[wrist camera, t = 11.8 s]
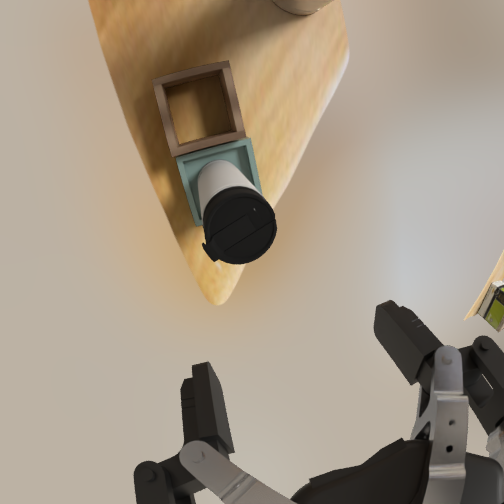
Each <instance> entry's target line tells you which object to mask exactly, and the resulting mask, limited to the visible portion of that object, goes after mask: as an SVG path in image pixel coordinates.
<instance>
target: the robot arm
mask: <svg viewBox="0 0 504 504" xmlns="http://www.w3.org/2000/svg"><path fill="white" fill-rule="evenodd" d="M273 1H274V3H275V4H276V5H278V6H279V7H280V8H282V9H283V10H285V11H287V12H290V13H293V14H297V15H309V14H313V13H315V12H317V11H318V10H320V9H321V8H323V7H324V6H326V5H327V4H329V3H330V2H332V1H334V0H273ZM374 333H375V336H376V338H377V339H378V341H379V342H380V343H381V345H382V346H383V347H384V349H385V350H386V351H387V353H388V354H389V355H390V357H391V358H392V359H393V361H394V362H395V364H396V365H397V367H398V368H399V369H400V371H401V372H402V374H403V375H404V376H405V378H406V379H407V381H408V382H409V383H410V385H413V384H415V383H416V382H419V383H420V389H419V399H418V408H417V416H416V422H415V425H414V427H413V430H412V433H411V438H410V440H407V441H404V440H403V438H401V439H399V440H397V441H395V442H393V443H391V444H389V445H388V446H386V447H384V448H382V449H380V450H379V451H378V452H377V453H376V454H375V455H373V456H372V457H371V458H369V459H368V460H367V461H366V462H364V463H363V464H361V465H359V466H354V467H349V468H344V469H338V470H333V471H330V472H327V473H325V474H322V475H319V476H316V477H314V478H311V479H309V480H310V482H309V483H308V484H306V485H305V486H303V487H302V488H300V489H299V490H298V491H297V492H296V493H295V494H294V495H293V496H292V498H291V499H288V498H286V497H285V496H283V495H281V494H279V493H278V492H276V491H274V490H273V489H271V488H270V487H268V486H266V485H265V484H263V483H262V482H260V481H259V480H257V479H256V478H254V477H253V476H251V475H249V474H247V473H246V472H244V471H243V470H242V469H240V468H239V467H237V466H236V465H235V464H233V463H232V462H231V461H230V459H229V455H228V454H230V453H234V452H235V451H234V447H233V442H232V437H231V433H230V428H229V423H228V418H227V413H226V408H225V402H224V397H223V392H222V388H221V384H220V382H219V379H218V378H217V376H216V374H215V372H214V370H213V368H212V367H211V364H210V363H209V362H204V363H200V364H196V365H192V375H193V377H192V378H187V379H184V381H183V384H182V387H181V389H180V390H181V401H182V402H181V406H182V420H183V432H184V444H183V447H182V449H181V450H180V452H179V453H178V454H177V455H175V456H173V457H171V458H169V459H167V460H164V461H162V462H160V463H155V462H153V461H145V462H142V463H140V464H139V465H138V466H137V467H136V468H135V471H134V484H135V494H136V502H137V504H196V503H195V499H194V493H196V492H198V491H201V490H203V489H205V488H208V489H210V490H211V491H212V492H213V493H214V494H216V495H217V496H218V497H219V498H220V499H221V500H222V501H223V502H224V503H225V504H504V353H503V352H502V350H501V349H500V348H499V347H498V346H497V344H496V343H495V342H494V341H493V340H492V339H491V338H489V337H488V336H479V337H477V338H476V339H475V340H474V342H473V344H472V345H471V346H467V347H464V348H460V349H456V348H455V347H453V346H448V345H447V346H444V345H443V344H442V343H441V342H440V341H439V340H438V338H436V336H435V335H434V334H433V333H432V332H431V331H430V330H429V329H428V327H427V326H426V325H424V324H423V322H422V321H421V320H420V319H418V317H417V316H416V315H415V313H414V312H413V311H412V310H410V309H407V308H406V307H404V306H402V307H399V306H398V305H397V304H396V303H395V302H394V301H392V300H389V301H387V302H384V303H382V304H380V305H378V306H377V307H376V313H375V321H374ZM482 374H483V375H484V376H485V378H486V379H487V380H488V382H489V383H490V385H491V386H492V388H493V389H492V388H491V387H490V385H489V384H488V382H487V381H486V380H485V378H484V377H483V375H482ZM468 404H469V405H470V407H471V408H472V410H473V411H474V413H475V414H476V416H477V418H478V419H479V421H480V423H481V424H482V426H483V428H484V429H485V431H486V433H487V434H488V436H489V437H488V441H487V446H486V450H487V451H488V452H489V453H490V454H489V457H484V456H480V455H476V454H472V453H468V452H466V445H467V433H468V407H469V405H468Z"/></svg>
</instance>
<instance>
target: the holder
mask: <svg viewBox="0 0 504 504" xmlns="http://www.w3.org/2000/svg"><path fill="white" fill-rule="evenodd" d="M216 75H219V78H220V82H221V87H222V91H223V95H224V100H225V104H226V108H227V112H228V117H229V121H230V125H231V130H232V131H227V132H223V133H219V134H215V135H211V136H207V137H204V138H200V139H196V140H193V141H189V142H186V143H182V144H179V142H178V138H177V135H176V131H175V127H174V123H173V119H172V115H171V111H170V107H169V103H168V99H167V95H166V91H165V88H169V87H172V86H175V85H179V84H183V83H186V82H190V81H194V80H198V79H202V78H207V77H211V76H216ZM152 82H153V87H154V91H155V95H156V99H157V103H158V107H159V111H160V115H161V119H162V123H163V126H164V130H165V134H166V138H167V141H168V145H169V149H170V152H171V156H172V157H175V156H178V155H181V154H184V153H188V152H191V151H195V150H198V149H202V148H206V147H209V146H213V145H217V144H221V143H225V142H229V141H233V140H237V139H242V138H246V134H245V129H244V125H243V120H242V116H241V111H240V107H239V102H238V98H237V94H236V89H235V85H234V81H233V76H232V72H231V68H230V63H229V60H228V61H223V62H217V63H213V64H208V65H203V66H199V67H195V68H191V69H187V70H183V71H179V72H176V73H172V74H169V75H165V76H162V77H159V78H156V79H152Z"/></svg>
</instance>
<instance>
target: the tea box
mask: <svg viewBox="0 0 504 504" xmlns="http://www.w3.org/2000/svg"><path fill="white" fill-rule="evenodd" d="M478 314H479V315H480V316H482V317H483V318H484V319H485V320H486V321H487V322H488V323H489V324H490V325H491V326H492V327H494V328H495V329H496V330H497V331H498V332H500V331H501V330H502V329H504V283H503V282H502V281H496V282H493V283H492V284H491V286H490V288H489V291H488V293H487V295H486V297H485V299H484V301H483V303H482V306H481V308H480V310H479V311H478Z"/></svg>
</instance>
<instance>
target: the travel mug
mask: <svg viewBox="0 0 504 504" xmlns="http://www.w3.org/2000/svg"><path fill="white" fill-rule="evenodd" d="M197 181H198V191H199V200H200V208H201V216H202V224H203V228H204V233H205V240H206V244H204V243H202V246H203V249H204V250H205V252H206V253H207V255H208V256H209V257H210V258H211V259H212V260H213V261H214V262H215V261H217V260H218V259H220V260H221V261H223V262H226V263H230V264H245V263H249V262H252V261H254V260H256V259H258V258H259V257H261V256H262V255H263V254H264V253H265V252H266V251H267V250H268V249H269V248H270V246H271V245H272V243H273V241H274V238H275V236H276V231H277V225H276V220H275V213H274V211H273V209H272V207H271V206H270V204H269V203H268V202H267V201H266V199H265V198H264V197H263V195H262V194H261V193H260V192H259V191H258V190H257V189H256V188H255V187H254V186H253V185H252V183H251V182H250V181H249V180H248V179H247V178H246V177H245V176H244V175H243V174H242V173H241V172H240V171H239V170H238V169H237V168H236V166H235V165H233V164H232V163H231V162H229V161H226V160H221V159H218V160H213V161H210V162H208V163H207V164H205V165H204V166H203V167H202V169H201V170H200V172H199V175H198V180H197Z"/></svg>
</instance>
